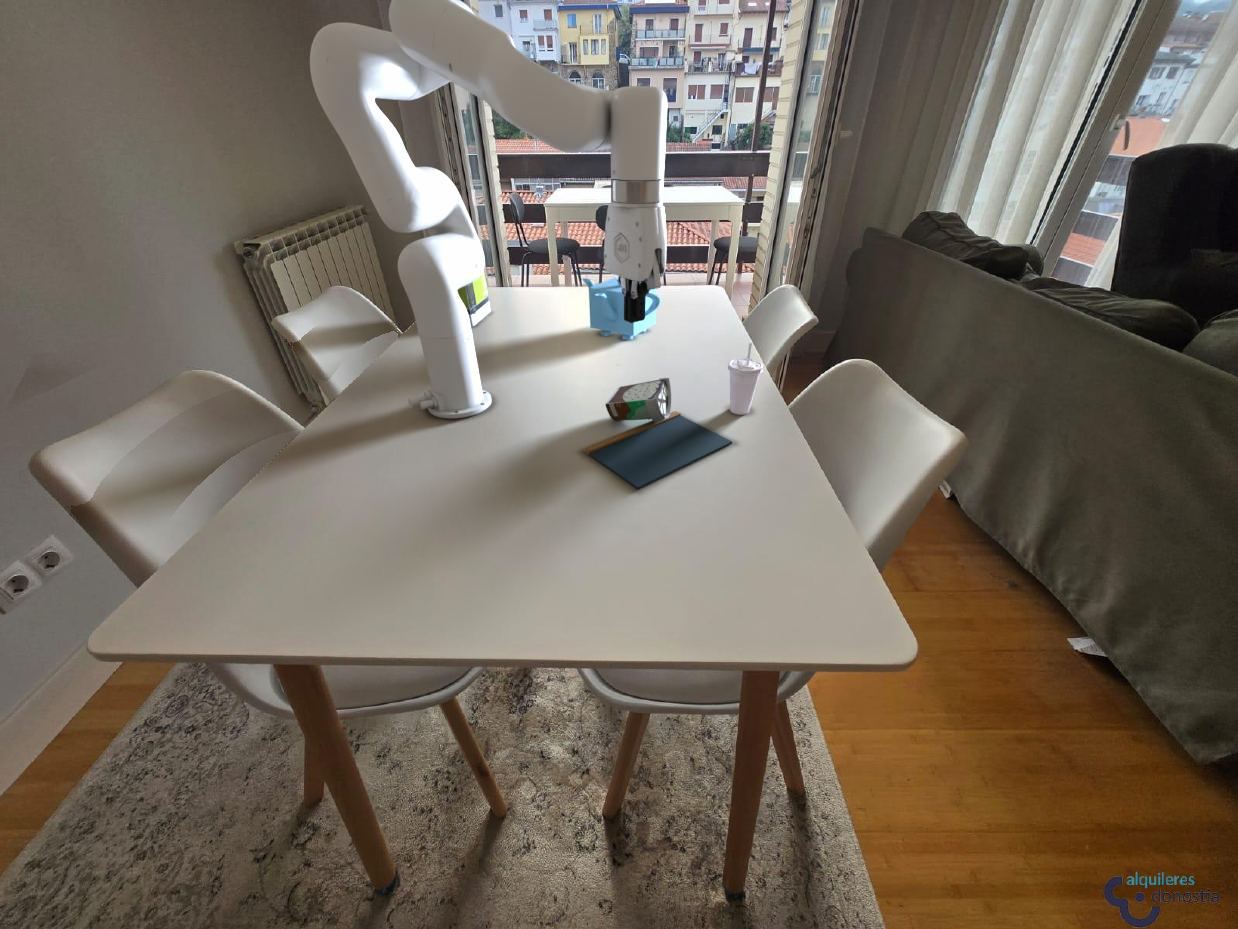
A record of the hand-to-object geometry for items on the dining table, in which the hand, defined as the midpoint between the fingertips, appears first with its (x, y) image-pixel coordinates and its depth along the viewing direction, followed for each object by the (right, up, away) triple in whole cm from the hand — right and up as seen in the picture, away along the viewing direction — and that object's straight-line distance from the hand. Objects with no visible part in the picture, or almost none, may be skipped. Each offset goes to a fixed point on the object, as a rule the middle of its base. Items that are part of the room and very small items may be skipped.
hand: (634, 320), depth 83 cm
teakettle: (-2, +13, +59) cm, 61 cm away
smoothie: (+21, -13, +18) cm, 31 cm away
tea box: (-48, +20, +70) cm, 88 cm away
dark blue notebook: (+5, -21, +6) cm, 22 cm away
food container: (-3, -13, +15) cm, 20 cm away
